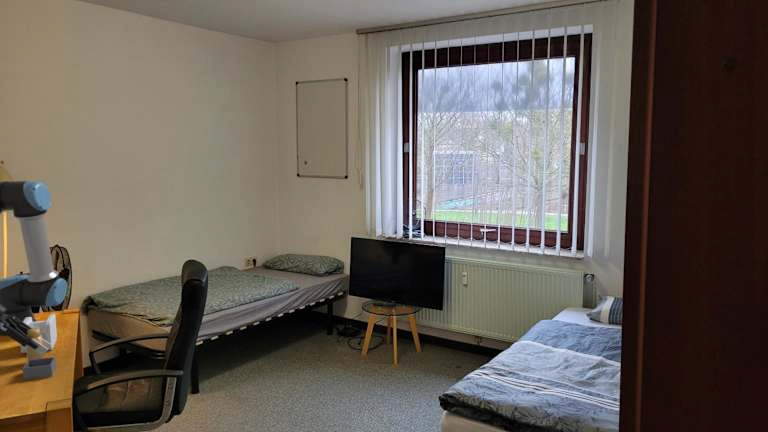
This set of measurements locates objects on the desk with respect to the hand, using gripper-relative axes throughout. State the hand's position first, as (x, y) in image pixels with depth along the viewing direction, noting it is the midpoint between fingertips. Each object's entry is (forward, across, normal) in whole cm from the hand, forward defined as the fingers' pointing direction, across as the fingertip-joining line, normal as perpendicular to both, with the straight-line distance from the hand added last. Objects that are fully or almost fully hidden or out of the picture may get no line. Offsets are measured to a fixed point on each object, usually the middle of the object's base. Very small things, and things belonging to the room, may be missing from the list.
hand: (46, 349), depth 209 cm
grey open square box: (+3, +13, -3) cm, 13 cm away
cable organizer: (0, -17, -7) cm, 19 cm away
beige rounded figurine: (0, 0, -5) cm, 5 cm away
